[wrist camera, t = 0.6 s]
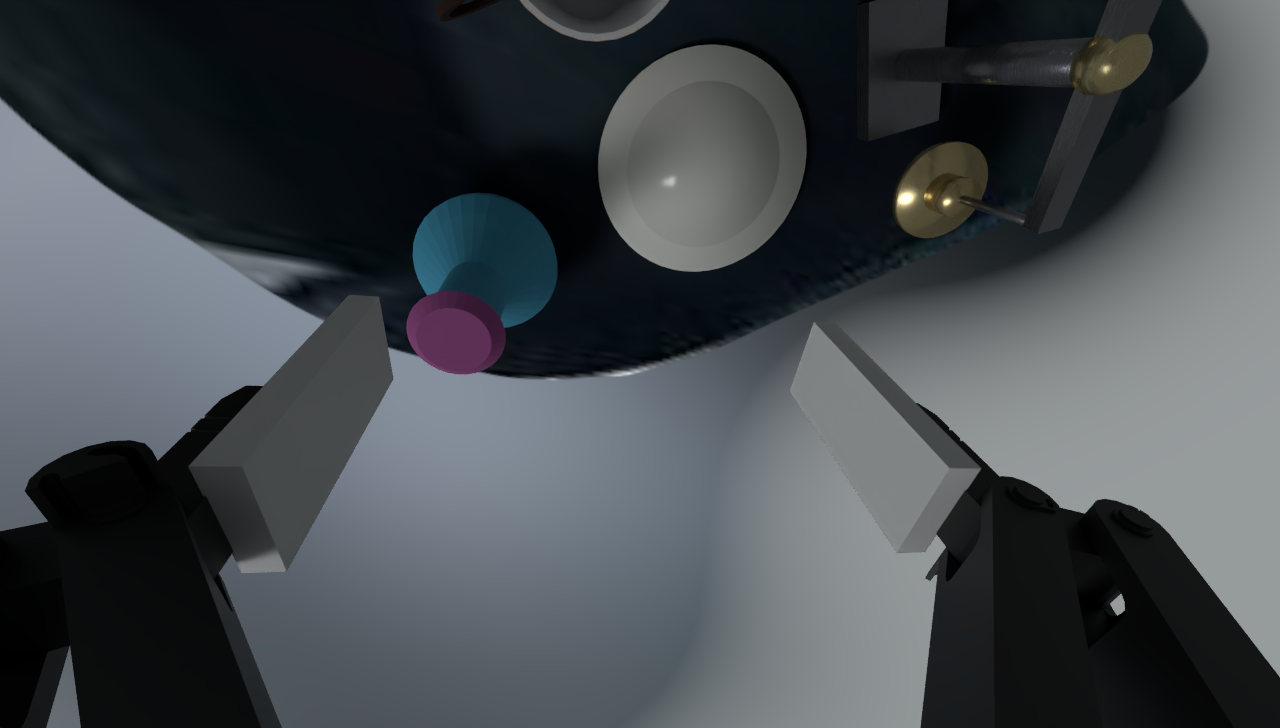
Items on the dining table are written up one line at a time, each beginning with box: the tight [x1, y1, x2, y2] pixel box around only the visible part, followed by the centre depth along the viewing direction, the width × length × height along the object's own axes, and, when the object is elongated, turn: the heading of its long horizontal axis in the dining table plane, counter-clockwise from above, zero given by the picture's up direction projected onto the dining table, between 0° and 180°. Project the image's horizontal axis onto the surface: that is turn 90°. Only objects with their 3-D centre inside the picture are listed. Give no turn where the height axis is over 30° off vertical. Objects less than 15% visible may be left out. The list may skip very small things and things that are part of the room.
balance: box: [857, 0, 1162, 238], centre depth 25 cm, size 21×6×18 cm, turn 14°
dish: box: [598, 45, 806, 272], centre depth 34 cm, size 15×15×1 cm
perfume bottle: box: [407, 193, 557, 374], centre depth 29 cm, size 9×9×15 cm
